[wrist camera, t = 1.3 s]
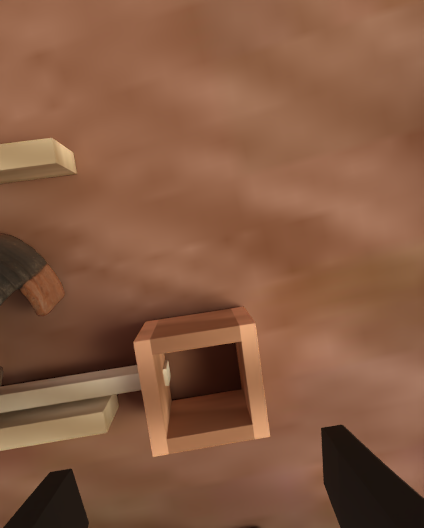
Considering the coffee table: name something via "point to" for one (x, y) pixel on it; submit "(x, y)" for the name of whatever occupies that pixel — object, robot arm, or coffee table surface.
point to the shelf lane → (63, 414)
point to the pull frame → (158, 390)
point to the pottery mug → (27, 277)
